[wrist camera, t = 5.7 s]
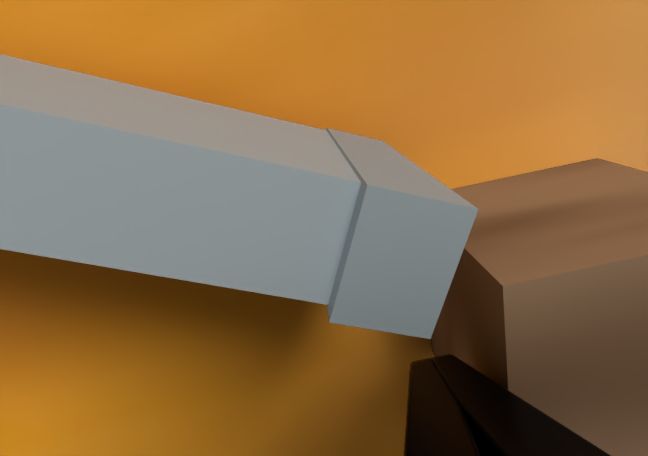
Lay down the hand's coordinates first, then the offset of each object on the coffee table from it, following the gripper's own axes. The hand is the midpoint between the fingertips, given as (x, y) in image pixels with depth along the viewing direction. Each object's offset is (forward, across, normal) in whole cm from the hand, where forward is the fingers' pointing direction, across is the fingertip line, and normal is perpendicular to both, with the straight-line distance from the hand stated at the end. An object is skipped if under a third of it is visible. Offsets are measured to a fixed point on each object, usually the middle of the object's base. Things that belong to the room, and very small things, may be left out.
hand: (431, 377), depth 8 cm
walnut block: (+3, -3, 0) cm, 5 cm away
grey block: (+3, +6, -6) cm, 8 cm away
